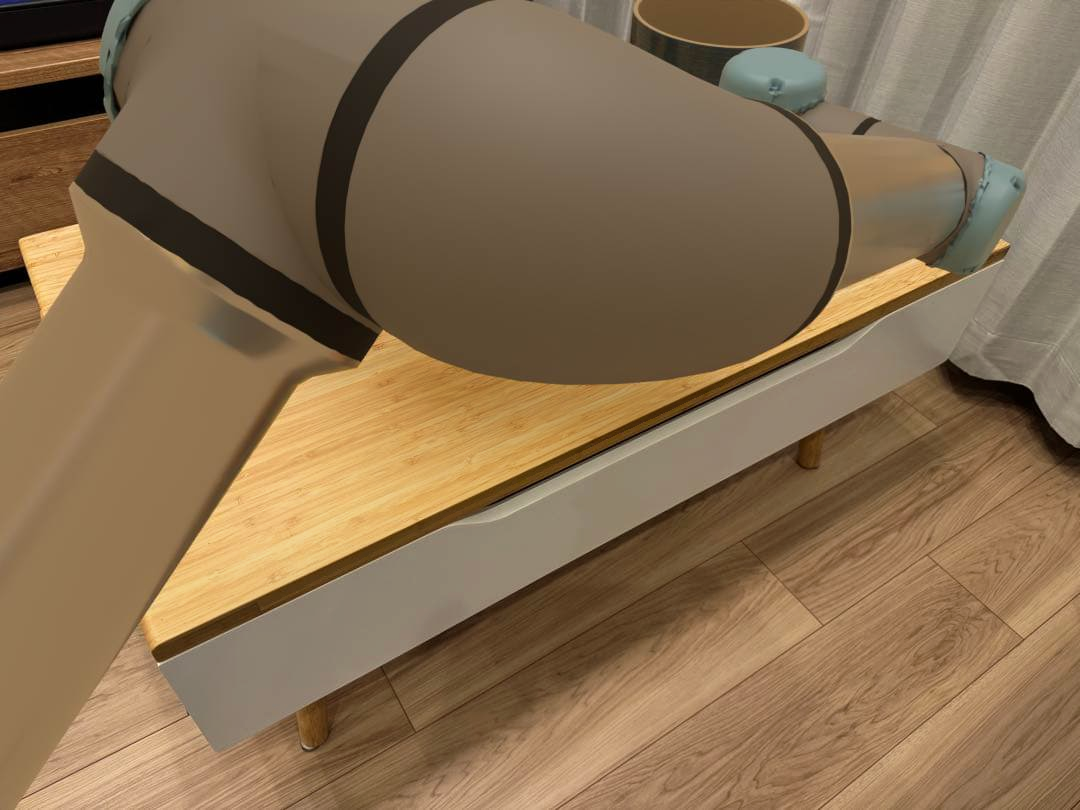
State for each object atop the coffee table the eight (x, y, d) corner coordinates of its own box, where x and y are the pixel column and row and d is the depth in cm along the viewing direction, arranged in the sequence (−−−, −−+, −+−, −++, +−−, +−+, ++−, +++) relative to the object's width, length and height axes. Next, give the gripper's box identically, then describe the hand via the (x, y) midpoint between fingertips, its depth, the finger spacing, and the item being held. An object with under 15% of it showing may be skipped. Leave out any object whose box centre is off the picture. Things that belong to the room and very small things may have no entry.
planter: (750, 124, 121) (783, -16, 107) (789, 200, 106) (833, 48, 91) (609, 124, 120) (622, -18, 105) (628, 201, 104) (646, 47, 90)
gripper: (606, 350, 62) (329, 323, 64) (619, 210, 77) (393, 191, 78) (615, 273, 57) (312, 246, 58) (627, 138, 71) (384, 119, 73)
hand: (359, 214), depth 68 cm, fingers closed on cup, 8 cm apart
